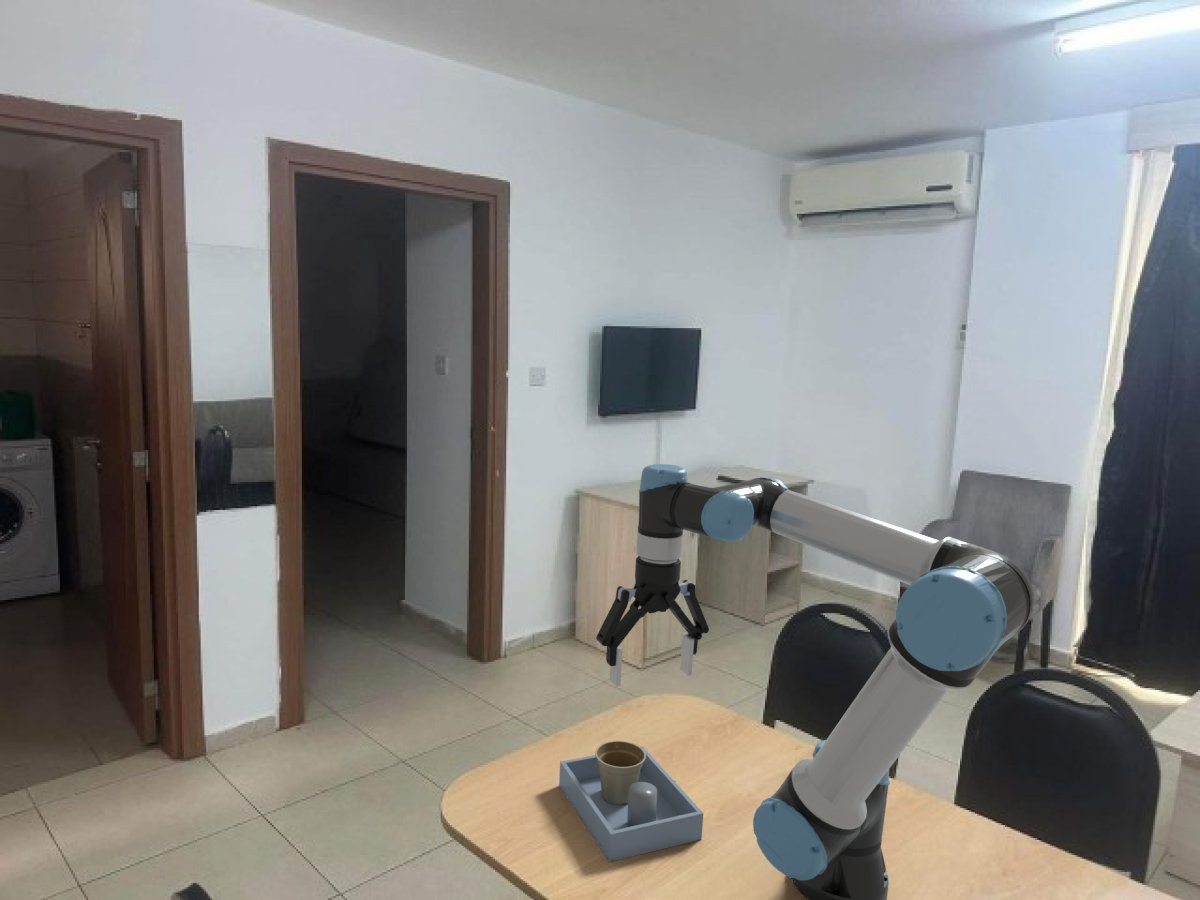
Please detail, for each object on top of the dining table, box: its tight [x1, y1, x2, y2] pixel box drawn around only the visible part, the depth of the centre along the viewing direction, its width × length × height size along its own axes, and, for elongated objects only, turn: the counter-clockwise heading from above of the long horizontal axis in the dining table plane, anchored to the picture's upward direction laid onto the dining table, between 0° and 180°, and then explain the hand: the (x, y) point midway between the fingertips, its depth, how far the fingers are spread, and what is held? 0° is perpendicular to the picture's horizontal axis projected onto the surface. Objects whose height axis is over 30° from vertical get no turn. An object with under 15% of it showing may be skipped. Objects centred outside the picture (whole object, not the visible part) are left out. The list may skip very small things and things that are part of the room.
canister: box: [627, 782, 657, 827], centre depth 145 cm, size 5×5×7 cm
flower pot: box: [594, 740, 646, 805], centre depth 154 cm, size 9×9×9 cm
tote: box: [558, 746, 704, 862], centre depth 150 cm, size 24×18×5 cm
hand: (651, 677), depth 141 cm, fingers open, 13 cm apart
